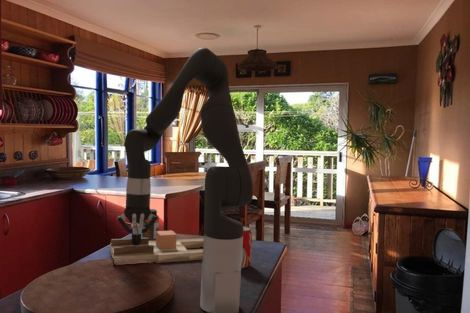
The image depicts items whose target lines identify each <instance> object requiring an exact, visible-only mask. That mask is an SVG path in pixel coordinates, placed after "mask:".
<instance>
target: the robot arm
mask: <svg viewBox="0 0 470 313" xmlns="http://www.w3.org/2000/svg"><path fill="white" fill-rule="evenodd" d="M194 79H195V80H196V81H198V82H200V84H202V85H203V86H204V87H205V88H206V91H207V93H208V99H206V100H205V102H204V103H203V104H202V107H201V108H200V109H201V110H200V122H201V128H202V133H203V135H204V137H205V139H206V140H207V142H208V143H209V144H210V145H211V146H212V148H214V149H215V150H216V151H217V152H218V153H219V154H220V155H221V156H222V157H223V159H225V162H226V164H227V165H228V166H218V165H217V166H210V167H209V168H208V169H207V170H206V173H205V177H204V214H203V215H204V216H203V218H204V220H203V238H204V242H203V248H202V249H203V260H201V277H200V279H201V280H200V281H201V282H200V300H199V302H200V304H199V306H200V308H201V310H203V311H205V312H206V313H239V311H240V310H239V309H240V297H241V296H240V294H241V277H242V274H241V272H242V268H241V261H242V245H243V226H244V225H243V223H242V222H241V221H239V220H236V219H234V218H231V217H228V216H226V215H225V214H223V213H222V210H221V209H222V207H244V206H247V205H249V204H250V203H251V202H252V200H253V197H254V196H253V195H254V184H253V183H254V182H253V179H252V174H251V171H250V166H249V164H248V161H247V158H246V155H245V152H244V149H243V146H242V142H241V138H240V134H239V127H238V122H237V118H236V113H235V110H234V106H233V101H232V95H231V91H230V82H229V81H230V80H229V68H228V66H227V64H226V63H225V61H224V60H223V59H221V58H220V56H218V55H217V54H215V53H214V52H213V51H212V50H210V49H209V48H207V47H199V48H198V49H196V50H195V51H194V52H193V53H192V54H191V55H190V57H189V58H188V59H187V61H186V62H185V64H184V65H183V67H182V68H181V69H180V71H179V73H178V74H177V76H176V78H175V79H174V81H173V82H172V83H171V86H170V87H169V89H168V90H167V91H166V93H165V94H164V96H163V97H162V98H161V100H160V101H159V102H158V103H157V104H156V105H155V107H154V108H153V109H152V110H150V113H148V114H147V116H146V119H145V123H146V125H145V127H143V129H140V128H138V129H137V128H134V129H130V130H129V131H128V132H127V133H126V135H125V137H124V152H125V157H126V160H127V164H128V165H127V166H128V167H127V181H126V188H125V194H126V196H125V208H124V210H123V213H122V214H121V215H117V217H116V219H117V221H118V222H119V224H120V225H121V226H122V228H123V229H124V230H125V231H126V232H127V233H129V234H131V238H132V240H131V241H132V244H133V245H134V246H138V245H139V244H140V243H141V238H142V233H143V232H147V231H148V230H149V228H150V227H151V226H152V225H153V223H154V222H155V221H156V220H157V217H156V216H155V215H153V214H152V213H151V210H150V209H151V189H152V187H151V184H152V182H151V170H152V164H151V162H150V160H148V159H147V158H146V154H145V152H148V151H149V152H150V151H151V150H153V149H154V148H155V147H156V146H157V145H158V143H159V141H160V140H161V138H162V136H163V135H164V133H165V131H166V130H167V129H168V128H169V127H170V125H172V123H174V121H175V120H176V119H177V117H178V116H179V114H180V112H181V109H182V105H183V99H184V94H185V92H186V89H187V88H188V85H189V84H190V83H191V81H193V80H194ZM148 217H149V221H148V222H147V223H146V224H145V226H144V227H143V223H144V222H145V221H146V219H147V218H148ZM126 219H127V220H128V221H129V222H130V223H131V224H130V226H131V227H130V226H129V225H128V223H126ZM142 227H143V228H142Z"/></svg>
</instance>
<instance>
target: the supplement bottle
mask: <svg viewBox="0 0 470 313" xmlns="http://www.w3.org/2000/svg"><path fill="white" fill-rule="evenodd" d="M150 210H151V213H152V214H153V215H155V216H156V217H157V220H156V221H155V222H154V223H153V225H152V226H151V227H150V228H149V230H148V231H147V232H143V233H142V234H141V238H149V241H156V231H160V230H159V228H160V227H159V226H160V217H159V215H158V210H157V209H155V208H154V209H153V208H150ZM148 221H149V217H148V218H147V219H146V221H145V222H144V223H143V227H144V226H145V224H146V223H147V222H148ZM143 227H142V228H143Z"/></svg>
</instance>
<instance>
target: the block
mask: <svg viewBox="0 0 470 313" xmlns="http://www.w3.org/2000/svg"><path fill="white" fill-rule="evenodd" d="M176 240H177V233H176V232H175V231H173V230H158V231H156V245H157V247H158V248H159V249H168V248H176Z"/></svg>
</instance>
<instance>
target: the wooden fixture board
mask: <svg viewBox="0 0 470 313" xmlns="http://www.w3.org/2000/svg"><path fill="white" fill-rule="evenodd" d="M131 240H132V237H129V238H111V240H110V243H109V251H110V254H111V259H112V258H113V259H127V260H145V261H151V262H156V263H155V264H159V263H174V262H175V263H176V262H188V261H190V262H191V261H202V260H203V248H200V247H203V242H204V237H202V238H182V239H176V248H168V249H159V248H158V247H157V245H156V241H149V238H142V237H141V243H140V244H139V245H138V246H134V245H133V244H132V241H131ZM113 259H112V260H113Z"/></svg>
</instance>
